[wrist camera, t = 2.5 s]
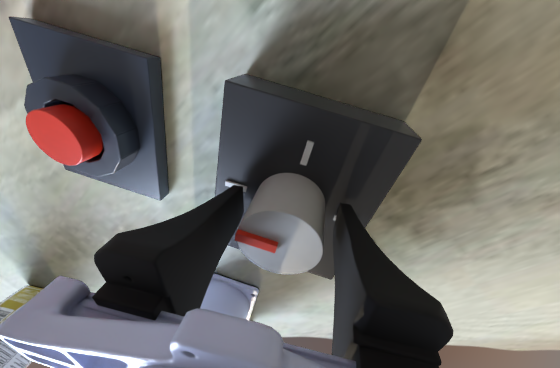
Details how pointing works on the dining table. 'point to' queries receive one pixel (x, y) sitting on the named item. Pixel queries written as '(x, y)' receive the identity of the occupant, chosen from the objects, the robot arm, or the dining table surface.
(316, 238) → the timer knob
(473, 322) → the dining table surface
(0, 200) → the dining table surface
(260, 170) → the panel
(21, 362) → the juice carton
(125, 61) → the button block
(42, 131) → the power button
